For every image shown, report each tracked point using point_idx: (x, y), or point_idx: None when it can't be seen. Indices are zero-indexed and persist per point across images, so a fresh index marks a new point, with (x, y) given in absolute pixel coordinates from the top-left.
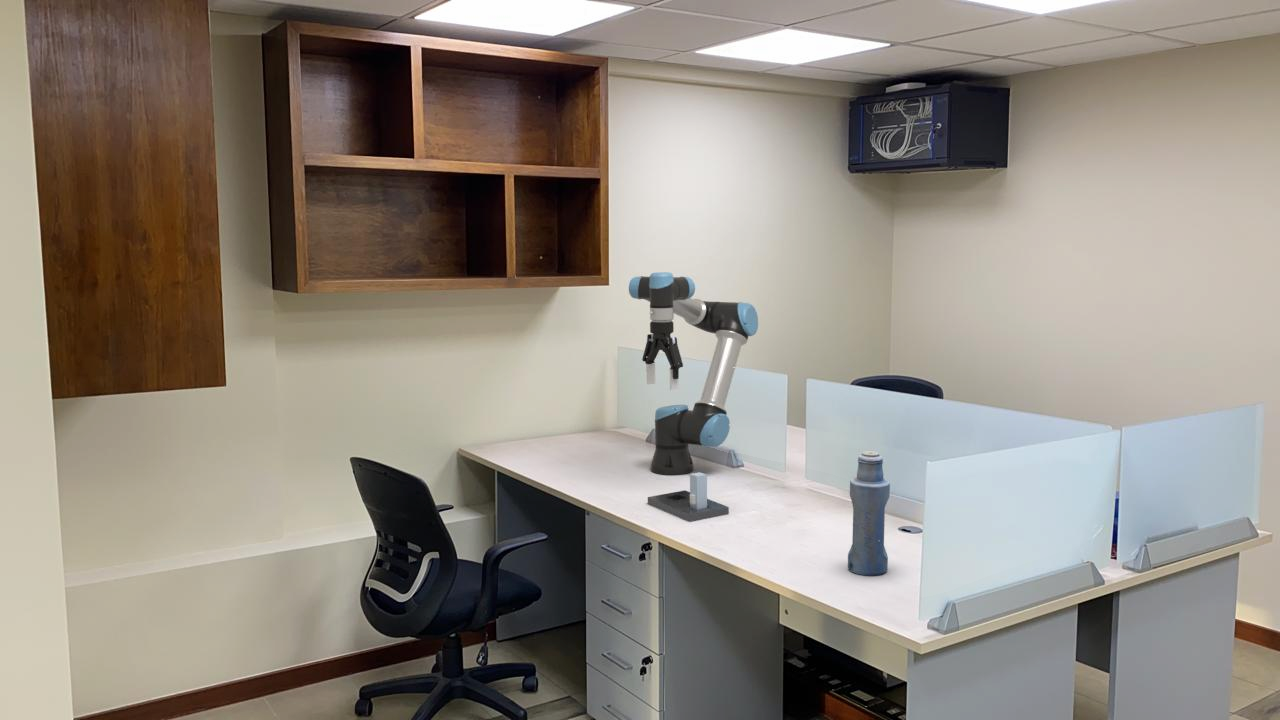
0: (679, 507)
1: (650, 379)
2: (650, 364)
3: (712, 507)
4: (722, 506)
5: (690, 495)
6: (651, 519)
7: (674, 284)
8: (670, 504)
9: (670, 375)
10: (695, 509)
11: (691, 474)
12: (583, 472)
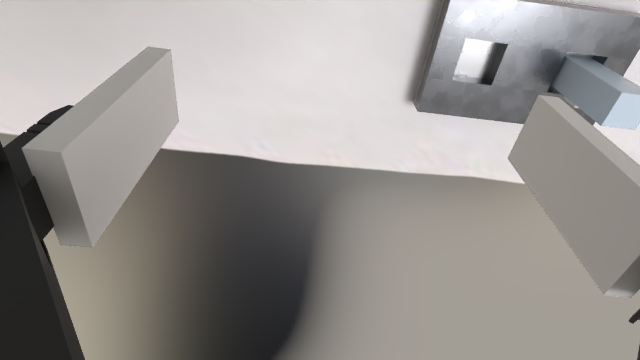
0: None
1: (160, 117)
2: (85, 217)
3: (615, 56)
4: (637, 29)
5: (576, 106)
6: (483, 151)
7: None
8: (503, 112)
9: (575, 239)
10: None
11: (608, 126)
12: (14, 17)
